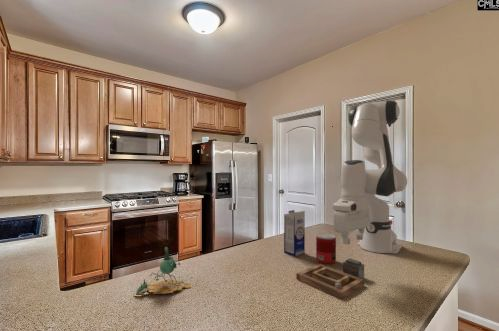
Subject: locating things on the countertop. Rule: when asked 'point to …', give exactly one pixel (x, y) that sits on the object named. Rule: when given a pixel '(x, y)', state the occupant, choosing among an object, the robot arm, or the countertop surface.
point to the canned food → (326, 248)
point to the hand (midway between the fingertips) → (353, 241)
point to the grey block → (353, 268)
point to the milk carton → (294, 233)
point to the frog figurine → (167, 285)
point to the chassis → (330, 280)
